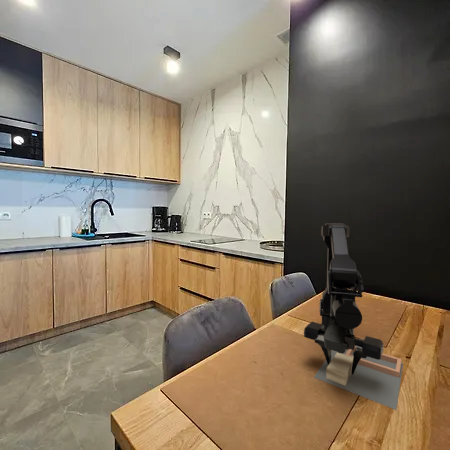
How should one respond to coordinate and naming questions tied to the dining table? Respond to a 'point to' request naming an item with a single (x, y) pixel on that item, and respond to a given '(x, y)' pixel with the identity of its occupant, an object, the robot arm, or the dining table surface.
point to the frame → (380, 367)
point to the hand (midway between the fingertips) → (340, 369)
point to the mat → (369, 382)
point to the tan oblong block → (340, 368)
